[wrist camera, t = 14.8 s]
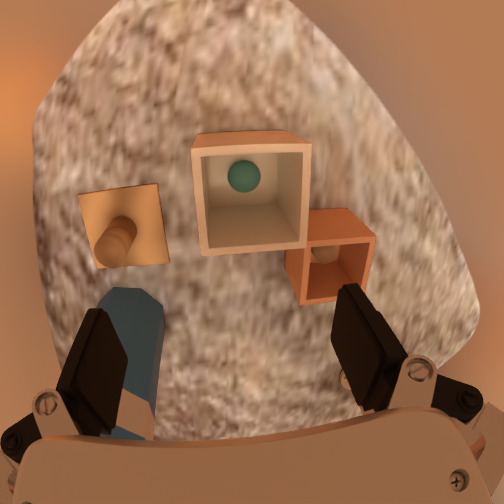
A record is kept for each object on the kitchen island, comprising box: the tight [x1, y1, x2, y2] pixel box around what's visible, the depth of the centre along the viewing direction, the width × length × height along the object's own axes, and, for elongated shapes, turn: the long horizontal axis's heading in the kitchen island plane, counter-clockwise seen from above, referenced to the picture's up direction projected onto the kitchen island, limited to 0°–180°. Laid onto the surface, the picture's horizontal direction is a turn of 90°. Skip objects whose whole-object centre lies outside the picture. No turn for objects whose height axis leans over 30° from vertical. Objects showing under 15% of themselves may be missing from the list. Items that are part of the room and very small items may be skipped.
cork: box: [311, 245, 337, 264], centre depth 31 cm, size 2×2×3 cm
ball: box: [228, 160, 261, 193], centre depth 26 cm, size 3×3×3 cm
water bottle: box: [97, 287, 165, 441], centre depth 24 cm, size 9×9×25 cm
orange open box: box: [284, 208, 376, 305], centre depth 29 cm, size 7×7×7 cm
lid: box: [78, 183, 170, 268], centre depth 27 cm, size 9×9×6 cm
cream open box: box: [191, 130, 312, 256], centre depth 24 cm, size 8×8×9 cm
